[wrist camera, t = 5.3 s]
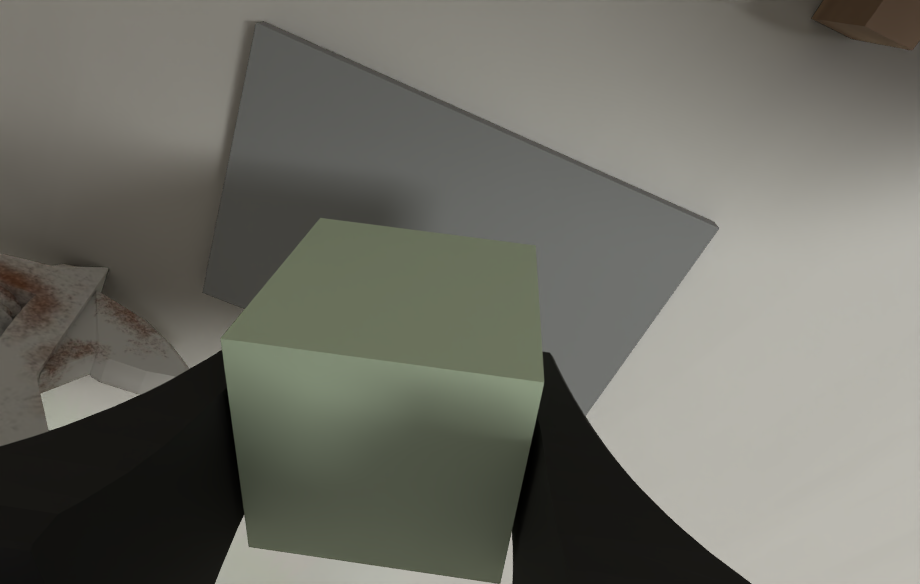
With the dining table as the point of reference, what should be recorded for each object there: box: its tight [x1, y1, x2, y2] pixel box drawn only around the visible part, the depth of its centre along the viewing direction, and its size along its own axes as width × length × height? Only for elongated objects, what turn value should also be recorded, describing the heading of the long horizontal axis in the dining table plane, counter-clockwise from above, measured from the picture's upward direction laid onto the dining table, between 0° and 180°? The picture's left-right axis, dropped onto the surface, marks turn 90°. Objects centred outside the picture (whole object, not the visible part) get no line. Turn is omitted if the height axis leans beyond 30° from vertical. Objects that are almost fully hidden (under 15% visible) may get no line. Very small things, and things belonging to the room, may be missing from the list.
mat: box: [203, 21, 719, 416], centre depth 18 cm, size 14×9×1 cm, turn 68°
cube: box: [221, 218, 544, 584], centre depth 12 cm, size 5×5×5 cm
